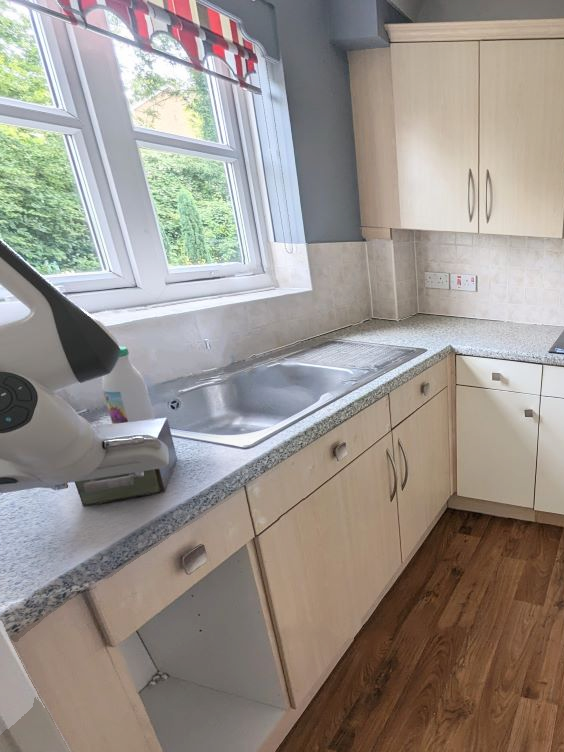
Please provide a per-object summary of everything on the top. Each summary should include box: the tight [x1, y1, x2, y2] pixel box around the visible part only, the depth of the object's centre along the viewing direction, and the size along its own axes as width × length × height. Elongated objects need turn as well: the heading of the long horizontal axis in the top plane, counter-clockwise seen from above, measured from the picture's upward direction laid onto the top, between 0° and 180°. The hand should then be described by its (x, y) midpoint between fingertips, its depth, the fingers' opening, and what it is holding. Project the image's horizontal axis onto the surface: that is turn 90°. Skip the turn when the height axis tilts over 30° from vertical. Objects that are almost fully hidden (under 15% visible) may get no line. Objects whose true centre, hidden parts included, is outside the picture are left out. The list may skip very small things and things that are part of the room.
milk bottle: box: [101, 346, 156, 424], centre depth 106 cm, size 8×8×20 cm
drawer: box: [76, 469, 160, 505], centre depth 83 cm, size 18×10×8 cm, turn 29°
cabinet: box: [74, 417, 178, 507], centre depth 87 cm, size 15×12×10 cm
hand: (101, 478), depth 74 cm, fingers open, 8 cm apart
